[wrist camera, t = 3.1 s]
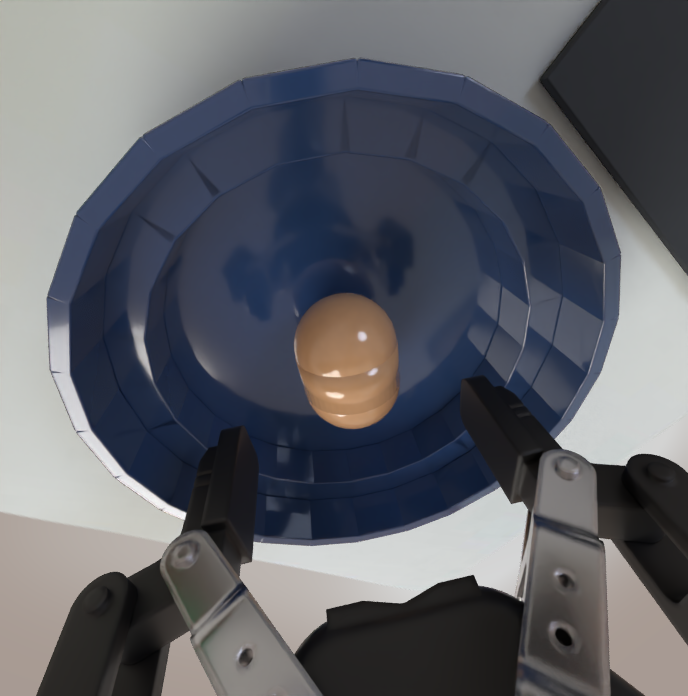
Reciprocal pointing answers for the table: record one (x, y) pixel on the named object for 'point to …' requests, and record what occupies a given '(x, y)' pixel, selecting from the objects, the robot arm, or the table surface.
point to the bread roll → (348, 360)
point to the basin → (331, 290)
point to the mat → (634, 105)
